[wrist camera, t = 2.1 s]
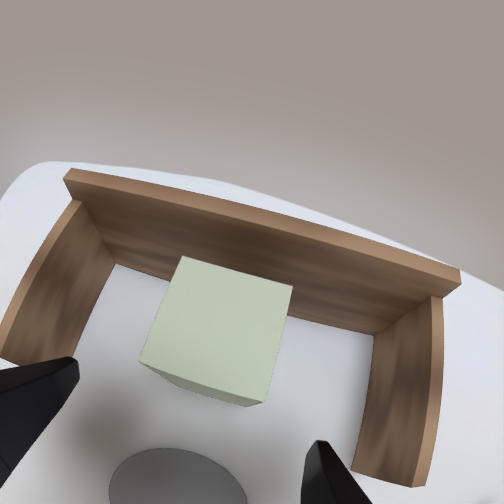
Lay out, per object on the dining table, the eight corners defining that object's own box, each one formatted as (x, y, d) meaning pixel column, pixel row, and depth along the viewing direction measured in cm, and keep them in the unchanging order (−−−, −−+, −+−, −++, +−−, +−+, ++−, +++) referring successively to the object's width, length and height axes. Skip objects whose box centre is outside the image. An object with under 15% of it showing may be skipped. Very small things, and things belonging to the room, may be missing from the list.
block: (246, 407, 18) (265, 401, 9) (178, 386, 18) (138, 361, 10) (263, 343, 20) (292, 286, 12) (199, 325, 21) (182, 255, 12)
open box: (362, 470, 15) (448, 489, 7) (54, 376, 17) (-30, 337, 8) (385, 326, 22) (459, 269, 13) (111, 251, 23) (71, 167, 15)
